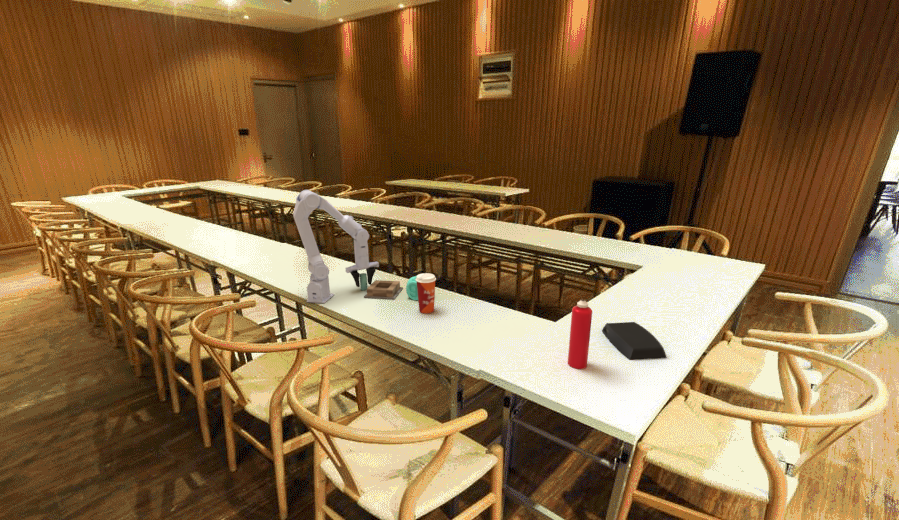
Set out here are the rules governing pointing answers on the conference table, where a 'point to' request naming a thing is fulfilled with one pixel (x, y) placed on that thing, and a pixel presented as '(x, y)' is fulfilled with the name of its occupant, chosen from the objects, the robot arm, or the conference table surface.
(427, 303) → the paper cup
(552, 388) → the conference table surface
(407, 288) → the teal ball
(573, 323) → the bottle
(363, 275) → the peg
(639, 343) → the external hard drive
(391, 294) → the socket
